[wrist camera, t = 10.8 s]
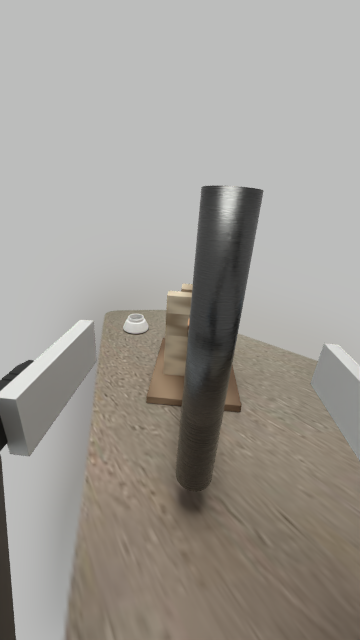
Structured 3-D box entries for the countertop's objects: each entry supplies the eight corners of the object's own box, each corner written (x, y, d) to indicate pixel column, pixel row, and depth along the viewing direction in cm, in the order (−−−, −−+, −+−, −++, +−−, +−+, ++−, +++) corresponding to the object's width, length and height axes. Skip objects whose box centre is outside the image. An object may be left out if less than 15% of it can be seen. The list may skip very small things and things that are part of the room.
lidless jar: (127, 337, 48) (151, 333, 50) (127, 323, 47) (152, 319, 49) (120, 326, 52) (143, 323, 54) (120, 313, 51) (143, 310, 53)
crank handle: (206, 363, 36) (226, 202, 27) (212, 493, 19) (270, 189, 11) (185, 361, 36) (199, 200, 27) (174, 489, 19) (202, 184, 11)
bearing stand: (226, 348, 46) (238, 280, 41) (240, 412, 32) (260, 318, 26) (162, 342, 47) (165, 274, 41) (146, 402, 32) (148, 308, 27)
